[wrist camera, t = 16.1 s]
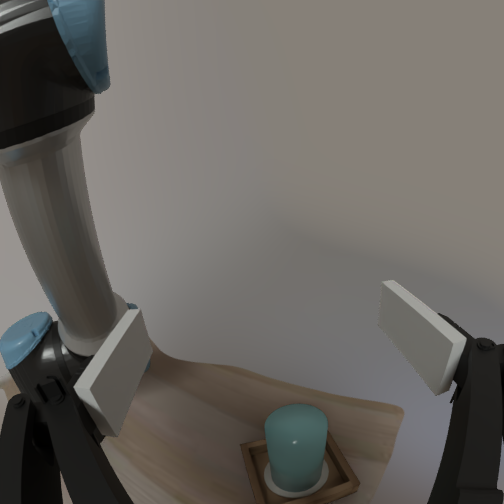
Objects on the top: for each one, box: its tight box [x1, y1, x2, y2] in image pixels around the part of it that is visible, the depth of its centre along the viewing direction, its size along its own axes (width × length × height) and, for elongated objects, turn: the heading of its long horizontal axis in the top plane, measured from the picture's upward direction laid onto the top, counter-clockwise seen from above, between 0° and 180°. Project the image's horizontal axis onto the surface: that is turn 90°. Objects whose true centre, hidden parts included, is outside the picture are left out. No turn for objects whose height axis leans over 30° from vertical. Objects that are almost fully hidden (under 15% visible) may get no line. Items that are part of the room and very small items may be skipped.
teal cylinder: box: [265, 404, 328, 492], centre depth 28 cm, size 7×7×12 cm
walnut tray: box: [240, 430, 360, 504], centre depth 29 cm, size 13×13×3 cm
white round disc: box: [264, 460, 329, 499], centre depth 30 cm, size 9×9×1 cm
